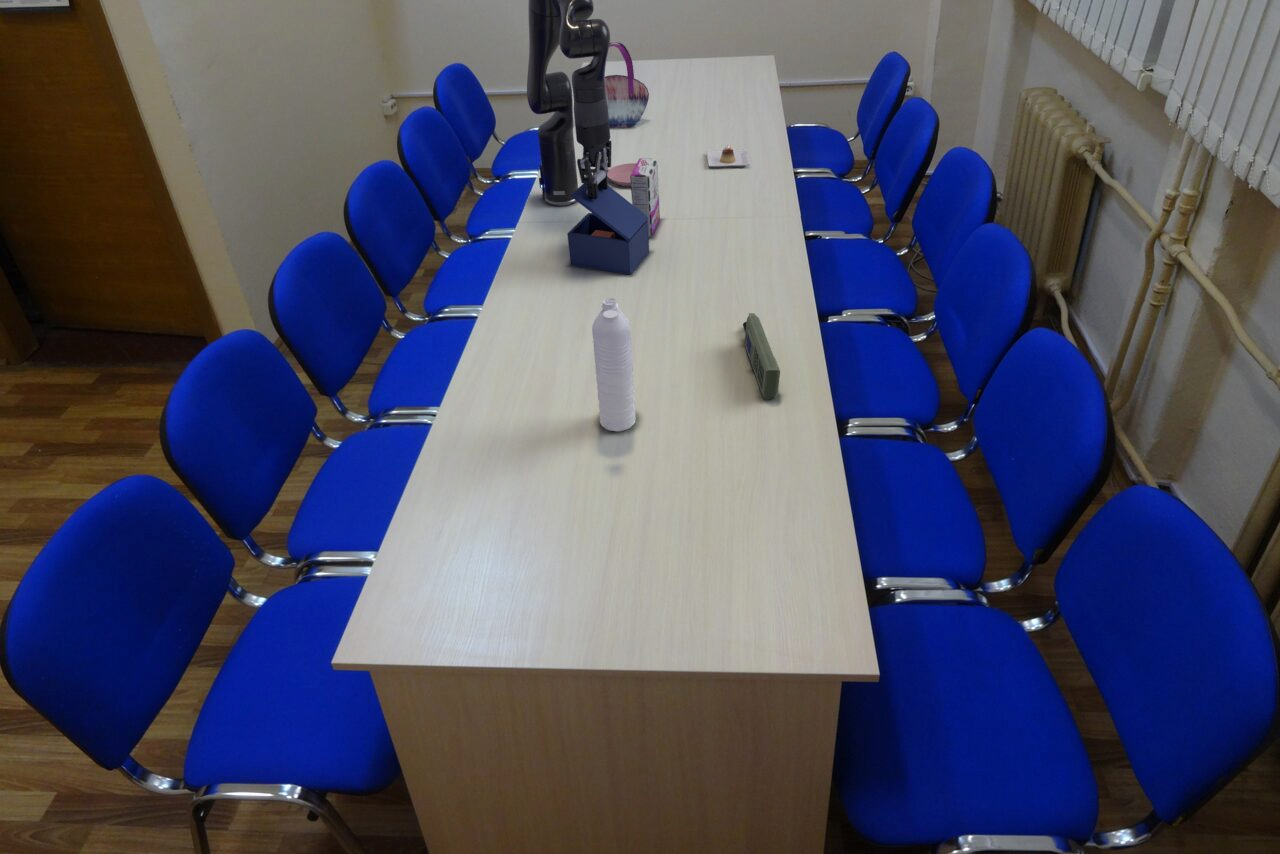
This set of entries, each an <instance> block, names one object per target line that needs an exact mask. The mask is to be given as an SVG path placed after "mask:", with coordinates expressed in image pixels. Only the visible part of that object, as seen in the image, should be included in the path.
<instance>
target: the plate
mask: <svg viewBox="0 0 1280 854" xmlns="http://www.w3.org/2000/svg"><path fill="white" fill-rule="evenodd" d="M636 164H637V162H635V163H634V162H632V163H631V162H629V163H622V164H619V165H616V166H613V167H610V169H609V168H608V173H607V179H609V180H610V181H612V182H613V183H614V184H615V185H618V186H621V187H631V178H630V175H631V173H632V172H633V170H634V168H635V166H636Z"/></svg>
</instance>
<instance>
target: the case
mask: <svg viewBox="0 0 1280 854" xmlns="http://www.w3.org/2000/svg"><path fill="white" fill-rule="evenodd" d="M595 230H599V231H607V232H614V233H615V239H614V238H607V237H600V236H593V235H591V234H592V233H593V232H594V231H595ZM566 234H567V243H568V254H569V263H570V267H578V268H584V269H585V268H586V269H591V270H597V271H604V272H612V273H618V274H625V275H632V273H634V271H635V270H636V269H637V268H638V266H639V265H640V264H641V263H642V262H643V261H644V259H645V258H646V256H648V254H649V253H650V238H649V234H648V220H647V221H646V222H645V223H644V224H643V225H642V226H641V227H640V228H639V230H638V231H637V232H636V233H635V234H634V235H633V236H632V237H631V239H630V240H629V241H627V240H626V239H625V238H623V237H622V236H621V235H619V234H618V233H617V232H616V231H614V230H613V229H612V228H611V227H609V226H608V225H607V224H605V223H604V222H603V221H602V220H600V219H599V218H598V217H596V216H595V215H594V214H593V213H591V212H588V213H587V214H585V215H584V216H583V218H581V220H579V222H577V223H576V224H575V225H574V226H573V227H572V228H571V229H570V230H569V231H568V232H567V233H566Z"/></svg>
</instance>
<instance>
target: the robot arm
mask: <svg viewBox="0 0 1280 854" xmlns="http://www.w3.org/2000/svg"><path fill="white" fill-rule="evenodd" d="M594 6H595V5H594V1H593V0H528V39H529V40H528V41H529V45H528V64H527V76H526V77H527V78H526V97H527V104H528V106H529V109H530V110H531V112H532V113H534V114H536V115H546V114H551V113H553V114H552V115H551V116H550V117H549V118H548V119H547V120H546V121H545V122H543V123H542V124H540V125H539V127H538V129H537V137H538V144H539V154H540V162H541V163H540V165H539V174H540V177H539V178H538V183H539V189H541V192H542V199H543V200H545V201H544V202H545V203H546V204H548V205H551V206H555V207H556V206H557V207H562V206H569V205H573V204H575V203H578V202H577V201H576V200H575V199H573V198H572V197H571V195H572V194H573V193H574V192H575V191H576V190H577V189H578V188H579V182H578V181H579V180H578V174H579V178H580V182H581V184H584V183H587V189H588V197H589V199H597V198H598V188H599V189H601V190H606V189H607V188H608V186H609V183H608V181H609V180H608V177H607V173H608V170H609V168H610V169H611V168H612V140H611V128H610V126H609V113H608V105H607V100H606V89H605V76H606V66H607V60H608V54H609V50H610V47H609V45H610V43H611V32H610V29H609V26H608V24H607V23H606V22H605V21H604V20H603V19H601V18H592V19H591V17H592V15H593V13H594ZM558 48H559V49H560V51H561V53H562V54H563V55H564V56H565V57H566V58H568V59H569V60H570V59H571V60H577V59H584V58H591V57H592V59H591V61H590V62H589V63H588V64H586V65H585V66H582V67H580V68H577V69H576V70H574V71H573V72H572V73H571V80H570V79H569V76H568V75H567V73H565V72H564V71H555V72H549V73H547V72H548V71H547V70H548V67H549V64H550V62H551V60H552V58H553V55H554V54H555V53H556V51H557V49H558ZM574 129H575V137H576V142H577V143H578V144H579V145H581V146H582V147H583V151H582V157H581V158H577V159H576V149H575V139H574ZM577 168H578V169H577ZM577 170H578V172H577ZM599 170H604V171H605V173H606V177H605V178H604V179H603V180H602V181H601V182H600V183H599V184H598V188H597V183H596V182H597V173H599ZM592 175H593V177H592Z"/></svg>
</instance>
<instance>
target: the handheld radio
mask: <svg viewBox="0 0 1280 854" xmlns="http://www.w3.org/2000/svg"><path fill="white" fill-rule="evenodd" d="M742 327H743V329H744V333H745V334H744V346H745V349H746V352H747V355H748V358H749V361H750V364H751V367H752V369H753V372H754V375H755V379H756V382H757V384H758V387H759V390H760V393H761V395H762V398H763V399H764V400H765V401H767V400H774V399H775V398H776V397H777V395H778V393H779V385H780V378H781V377H780V376H781V369H780V367H779V364H778V361H777V359H776V357H775V356H774V353H773V351H772V348H771V346H770V343H769V341H768V338H767V335H766V333H765V329H764V327H763V325H762V323H761V320H760V318H759V316H757V314H755V312H748V316H747V317H746V321H744V322H743V324H742Z"/></svg>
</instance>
